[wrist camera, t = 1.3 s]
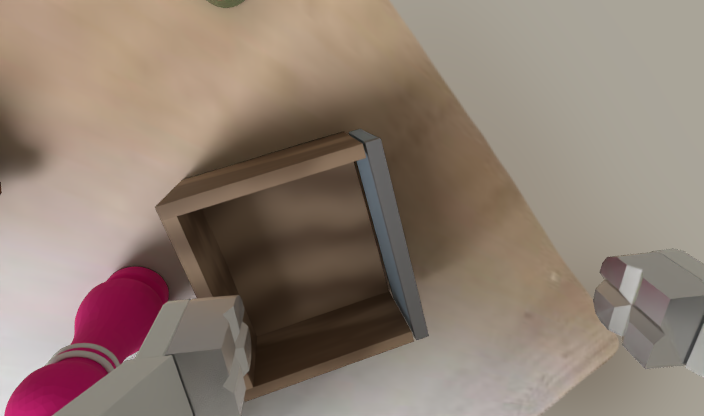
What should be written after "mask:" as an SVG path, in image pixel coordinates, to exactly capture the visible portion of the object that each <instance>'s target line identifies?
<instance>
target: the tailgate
mask: <svg viewBox="0 0 704 416" xmlns="http://www.w3.org/2000/svg"><path fill="white" fill-rule="evenodd" d="M349 135H350V136H351V137H353V138H354V139H356V140H358V141H359V142H361V143H362V144H363V147H364V151H365V155H366V158H364V159H361V160H358V161H357V165H358V168H359V172H360V176H361V179H362V183H363V187H364V191H365V194H366V198H367V202H368V205H369V209H370V213H371V217H372V220H373V224H374V228H375V231H376V235H377V239H378V243H379V246H380V250H381V254H382V257H383V261H384V265H385V269H386V272H387V276H388V280H389V283H390V287H391V291H392V294H393V298H394V300H395V302H396V304H397V306H398V308H399V309H400V311H401V313H402V315H403V316H404V318H405V320H406V322H407V323H408V325H409V327H410V329H411V331H412V332H413V335H414V337H415V339H416V340H419V339H422V338H425V337H427V336H429V334H428V330H427V326H426V322H425V318H424V314H423V310H422V306H421V302H420V298H419V293H418V289H417V285H416V281H415V277H414V273H413V269H412V265H411V261H410V257H409V252H408V248H407V244H406V240H405V236H404V232H403V228H402V224H401V220H400V215H399V211H398V207H397V203H396V199H395V195H394V191H393V187H392V183H391V179H390V174H389V170H388V166H387V162H386V158H385V154H384V150H383V146H382V142H381V138H379V137H376V136H374V135H372V134H370V133H368V132H366V131H364V130H362V129H358V130H354V131H351V132H349Z"/></svg>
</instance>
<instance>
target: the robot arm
mask: <svg viewBox="0 0 704 416" xmlns="http://www.w3.org/2000/svg"><path fill="white" fill-rule="evenodd" d="M600 274H601V275H602V277H603V279H604V281H603V282H602V283H601V284H600V285H599V286H598V287H597V288H596V290H595V294H594V299H593V302H594V307H595V312H596V314H597V316H598V318H599V320H600V321H601V323H602V324H603V325H604V326H605V327H606V328H607V329H608V330H609V331H612V332H614V333H616V334H618V335H620V336H622V345H623V346H624V347H625V348H626V349H627V351H628V352H629V353H630V354H631V355H632V356H633V357H634V358H635V359H636V360H637V361H638V362H639V363H640V364H641V365H642V366H643V367H644V368H645V369H649V368H661V367H670V366H671V367H672V366H683V365H686V367H685V368H687V369H689V370H691V371H693V372H694V373H696V374H698V375H699V376H701V377H703V378H704V264H703V263H702V262H700V261H699V260H697V259H695V258H693V257H692V256H690V255H689V254H687V253H686V252H684V251H682V250H678V249H666V250H659V251H652V252H649V253H640V254H631V255H621V256H613V257H607V258H606V259H605V261H604V262H603V263H602V266H601V270H600ZM244 311H245V310H244V306H243V302H242V298H241V297H240V296H239V295H232V296H220V297H208V298H196V299H192V300H191V299H186V300H176V301H168V302H167V303H165V304H164V305H163V306H162V308H161V310H160V312H159V314H158V315H157V317H156V319H155V321H154V323H153V325H152V327H151V329H150V331H149V332H148V334H147V336H146V338H145V340H144V342H143V344H142V346H141V348H140V349H139V351H138V353H137V355H136V357H135V359H132V360H126V361H125V362H123V363H122V364H121V365H119V366H118V367H117V368H115V369H114V370H113V371H111V372H110V373H109V374H107V375H106V376H104V377H103V378H102V379H100V380H99V381H98V382H96V383H95V384H94V385H92V386H91V387H90V388H88V389H87V390H86V391H84V392H83V393H82V394H80V395H79V396H78V397H76V398H75V399H74V400H72V401H71V402H70V403H68V404H67V405H66V406H64V407H63V408H62V409H60V410H59V411H58V412H56V413H55V414H54V415H52V416H241V412H242V406H243V401H244V396H245V391H246V387H245V382H244V378H243V377H244V376H245V374H246V373H247V372H248V371H249V369H250V363H251V337H250V331H249V327H248V325H246V324H245V323H244V322H243V321H242V320H243V315H244Z"/></svg>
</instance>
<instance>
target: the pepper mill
mask: <svg viewBox="0 0 704 416" xmlns="http://www.w3.org/2000/svg"><path fill="white" fill-rule="evenodd" d="M168 297H169V291H168V287H167V285H166V283H165V281H164V280H163V278H162V277H161V276H160V275H158V274H157V273H156V272H154V271H152V270H150V269H147V268H144V267H127V268H123V269H121V270H119V271H117V272H115V273H114V274H113V275H111V276H110V278H109V279H108V280H107V281H106V282H104V283H101V284H100V285H98V286H96V287H95V288H94V289H92V290H91V291H90V292H89V293H88V295H87V296H86V297H85V299H84V300H83V301H82V303H81V305H80V307H79V309H78V312H77V315H76V318H75V335H74V339H73V341H72V343H71V345H69V346H66V347H64V348H62V349H60V350H59V351H58V352H56V353H55V354H54V355H53V357H52V358H51V360H50V361H49V362H48V363H47V364H46V365H45V366H44V367H42V368H40V369H38V370H36V371H34V372H33V373H31V374H30V375H28V376H27V377H26V378H25V379H24V380H23V381H22V382H21V383H20V385H19V386H18V387H17V388H16V389H15V391H14V392H13V394H12V396H11V397H10V399H9V401H8V404H7V407H6V410H5V415H4V416H52V415H54V414H55V413H56V412H58V411H59V410H60V409H62V408H63V407H64V406H66V405H67V404H68V403H70V402H71V401H72V400H74V399H75V398H76V397H78V396H79V395H80V394H82V393H83V392H84V391H86V390H87V389H88V388H90V387H91V386H92V385H94V384H95V383H96V382H98V381H99V380H100V379H102V378H103V377H104V376H106V375H107V374H109V373H110V372H111V371H113V370H114V369H115V368H117V367H118V366H119V365H121V364H122V362H123V361H124V360H125V359H126V358H127V357H128V356H130V355H132V354H134V353H136V352H137V351H139V349H140V348H141V346H142V344H143V342H144V340H145V338H146V336H147V334H148V332H149V331H150V329H151V327H152V325H153V323H154V321H155V319H156V317H157V315H158V314H159V312H160V310H161V308H162V306H163V305H164V304H165V303H167V302H168Z"/></svg>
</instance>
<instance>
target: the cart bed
mask: <svg viewBox="0 0 704 416" xmlns="http://www.w3.org/2000/svg"><path fill="white" fill-rule="evenodd" d="M364 158H366V155H365V151H364V147H363V144H362V143H361V142H359V141H358V140H356V139H354V138H353V137H351V136H350V135H348V134H347V133H345V132H344V131H343V132H340V133H337V134H333V135H330V136H327V137H323V138H320V139H317V140H313V141H310V142H307V143H303V144H300V145H297V146H293V147H290V148H287V149H283V150H280V151H277V152H274V153H270V154H267V155H264V156H260V157H257V158H254V159H250V160H247V161H244V162H240V163H237V164H234V165H230V166H227V167H224V168H220V169H217V170H214V171H210V172H207V173H204V174H200V175H197V176H194V177H190V178H187V179H184V180H182V181H181V182H180V183H179V184H178V185H177V186H176V187H175V188H174V189H173V190H172V191H171V192H170V193H169V194H168V195H167V196H166V197H165V198H164V199H163V200H162V201H161V202H160V203H159V204H158V205H157V206H156V207H155V208H156V211H157V213H158V215H159V217H160V219H161V221H162V224H163V226H164V228H165V230H166V232H167V234H168V236H169V239H170V241H171V243H172V245H173V247H174V249H175V252H176V254H177V256H178V258H179V260H180V262H181V265H182V267H183V269H184V271H185V273H186V275H187V277H188V280H189V282H190V284H191V286H192V288H193V290H194V293H195V295H196V297H197V298H208V297H220V296H232V295H239V296H240V297H241V298H242V302H243V306H244V310H245V311H244V315H243V320H242V321H243V322H244V323H245V324H246V325H248V327H249V331H250V337H251V363H250V369H249V371H248V372H247V373H246V374H245V376H244V377H243V378H244V382H245V387H246V391H245V396H244V400H245V402H246V401H249V400H252V399H254V398H257V397H260V396H263V395H266V394H268V393H271V392H274V391H277V390H280V389H282V388H285V387H288V386H291V385H293V384H296V383H299V382H302V381H305V380H307V379H310V378H313V377H316V376H319V375H321V374H324V373H327V372H330V371H333V370H335V369H338V368H341V367H344V366H346V365H349V364H352V363H355V362H358V361H360V360H363V359H366V358H369V357H372V356H374V355H377V354H380V353H383V352H385V351H388V350H391V349H394V348H397V347H399V346H402V345H405V344H408V343H411V342H413V341H414V339H413V335H412V331H411V330H410V328H409V326H408V324H407V322H406V321H405V319H404V317H403V315H402V314H401V312H400V310H399V308H398V306H397V305H396V303H395V301H394V299H393V298H392V296H391V294H390V292H389V290H388V286H387V282H386V279H385V275H384V271H383V268H382V264H381V260H380V256H379V253H378V249H377V245H376V242H375V238H374V234H373V231H372V227H371V223H370V220H369V216H368V212H367V209H366V205H365V201H364V198H363V194H362V190H361V187H360V183H359V179H358V176H357V172H356V168H355V165H354V161H358V160H361V159H364Z"/></svg>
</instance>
